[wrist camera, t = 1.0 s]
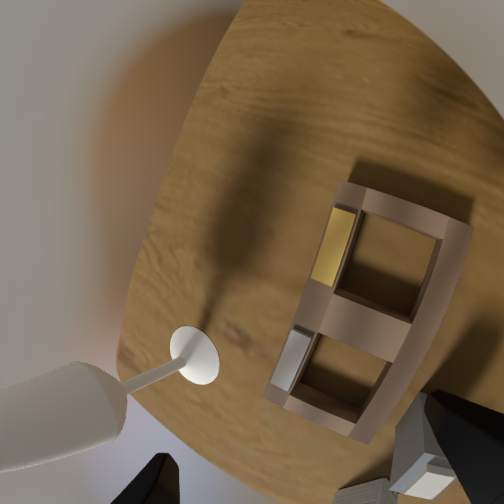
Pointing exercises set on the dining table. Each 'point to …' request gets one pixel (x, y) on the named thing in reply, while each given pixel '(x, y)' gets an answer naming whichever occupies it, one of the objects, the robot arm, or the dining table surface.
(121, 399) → the champagne flute
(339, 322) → the brown wooden flat frame
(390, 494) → the skincare box
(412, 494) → the plug
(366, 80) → the dining table surface
